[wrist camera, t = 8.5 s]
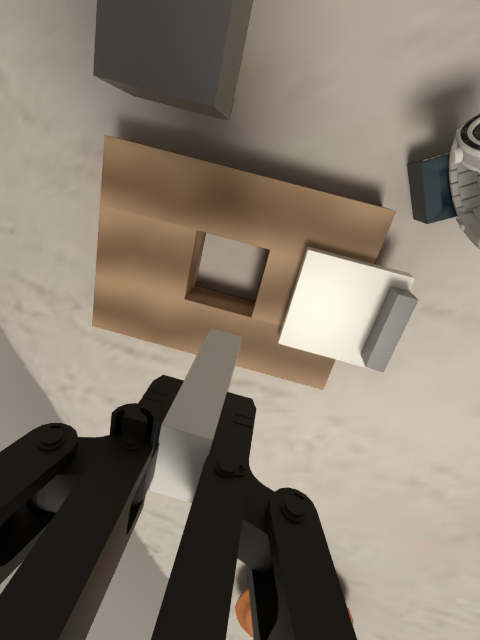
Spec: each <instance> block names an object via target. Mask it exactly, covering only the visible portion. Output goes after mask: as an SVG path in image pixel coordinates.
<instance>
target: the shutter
mask: <svg viewBox="0 0 480 640" xmlns="http://www.w3.org/2000/svg"><path fill="white" fill-rule="evenodd" d="M414 279H415V278H414V277H413V276H412V275H410V274H409V273H406V272H402V271H398V270H394V269H391V268H387V267H383V266H379V265H376V264H372V263H368V262H364V261H361V260H357V259H353V258H349V257H346V256H342V255H338V254H334V253H331V252H327V251H323V250H319V249H315V248H312V247H308V246H307V249H306V252H305V255H304V258H303V262H302V265H301V268H300V271H299V274H298V277H297V280H296V283H295V287H294V290H293V293H292V296H291V299H290V302H289V305H288V309H287V312H286V315H285V318H284V321H283V324H282V327H281V331H280V334H279V339H278V344H282V345H285V346H289V347H292V348H296V349H300V350H303V351H307V352H311V353H314V354H318V355H322V356H325V357H329V358H333V359H336V360H340V361H343V362H347V363H351V364H354V365H358V366H362V367H365V368H369V369H374V370H378V371H381V372H384V370H385V368H386V366H387V364H388V362H389V360H390V358H391V356H392V354H393V351H394V349H395V347H396V345H397V343H398V341H399V339H400V337H401V335H402V333H403V331H404V329H405V327H406V325H407V323H408V320H409V318H410V316H411V314H412V312H413V310H414V308H415V306H416V304H417V302H418V299H417V298H416V297H415V296H414V295H413V294H412V293H411V292H410V291H409V290H410V288H411V286H412V284H413V282H414Z"/></svg>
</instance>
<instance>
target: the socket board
mask: <svg viewBox="0 0 480 640" xmlns="http://www.w3.org/2000/svg"><path fill="white" fill-rule="evenodd" d="M395 213H396V211H394V210H391V209H388V208H385V207H381V206H378V205H374V204H370V203H366V202H362V201H358V200H355V199H351V198H347V197H343V196H339V195H336V194H332V193H328V192H324V191H320V190H316V189H313V188H309V187H305V186H301V185H297V184H293V183H290V182H286V181H282V180H278V179H274V178H270V177H267V176H263V175H259V174H255V173H251V172H248V171H244V170H240V169H236V168H232V167H228V166H225V165H221V164H217V163H213V162H209V161H205V160H202V159H198V158H194V157H190V156H186V155H182V154H179V153H175V152H171V151H167V150H163V149H160V148H156V147H152V146H148V145H144V144H140V143H137V142H133V141H129V140H125V139H120V138H116V137H111V136H106V135H105V140H104V155H103V170H102V185H101V200H100V215H99V230H98V245H97V261H96V276H95V291H94V306H93V321H92V326H95V327H98V328H102V329H106V330H109V331H113V332H116V333H120V334H124V335H127V336H131V337H134V338H138V339H142V340H145V341H149V342H152V343H156V344H160V345H163V346H167V347H170V348H174V349H178V350H181V351H185V352H188V353H192V354H196V355H197V354H198V353H199V351H200V349H201V347H202V345H203V343H204V341H205V339H206V337H207V335H208V333H209V331H210V329H211V328H213V329H216V330H220V331H224V332H227V333H231V334H234V335H238V336H242V337H243V338H242V342H241V345H240V349H239V353H238V357H237V360H236V364H235V366H239V367H243V368H246V369H250V370H253V371H257V372H261V373H264V374H268V375H271V376H275V377H279V378H282V379H286V380H289V381H293V382H297V383H300V384H304V385H307V386H311V387H315V388H318V389H322V390H323V389H324V387H325V384H326V382H327V379H328V377H329V374H330V372H331V369H332V367H333V365H334V362H335V360H336V359H333V358H329V357H325V356H322V355H318V354H314V353H311V352H307V351H303V350H300V349H296V348H292V347H289V346H285V345H282V344H278V339H279V334H280V331H281V327H282V324H283V321H284V318H285V315H286V312H287V309H288V305H289V302H290V299H291V296H292V293H293V290H294V287H295V283H296V280H297V277H298V274H299V271H300V268H301V265H302V262H303V258H304V255H305V252H306V249H307V246H308V247H312V248H315V249H319V250H323V251H327V252H331V253H334V254H338V255H342V256H346V257H349V258H353V259H357V260H361V261H364V262H368V263H372V264H375V262H376V259H377V257H378V254H379V252H380V249H381V247H382V245H383V242H384V240H385V237H386V235H387V232H388V230H389V227H390V225H391V223H392V220H393V218H394V215H395ZM206 233H209V234H213V235H217V236H221V237H224V238H228V239H232V240H236V241H239V242H243V243H247V244H251V245H254V246H258V247H262V248H265V249H269V250H270V252H269V255H268V259H267V263H266V266H265V270H264V274H263V277H262V281H261V285H260V288H259V292H258V295H257V299H256V302H254V301H250V300H246V299H243V298H239V297H235V296H232V295H228V294H224V293H221V292H217V291H213V290H210V289H206V288H202V287H199V286H196V282H197V277H198V271H199V266H200V261H201V256H202V251H203V246H204V240H205V235H206Z"/></svg>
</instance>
